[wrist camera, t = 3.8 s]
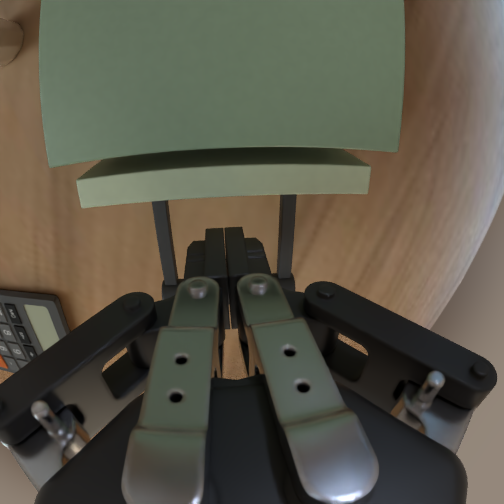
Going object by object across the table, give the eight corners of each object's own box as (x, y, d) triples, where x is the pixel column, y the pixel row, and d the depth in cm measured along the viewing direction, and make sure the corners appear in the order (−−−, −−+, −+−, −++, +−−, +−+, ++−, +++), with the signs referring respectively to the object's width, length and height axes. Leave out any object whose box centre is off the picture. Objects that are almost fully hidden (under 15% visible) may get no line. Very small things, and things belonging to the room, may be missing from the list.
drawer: (310, 246, 21) (345, 312, 15) (139, 255, 20) (115, 327, 14) (320, -42, 11) (369, -88, 5) (120, -38, 10) (79, -84, 4)
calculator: (-56, 288, 18) (53, 302, 20) (-51, 282, 19) (57, 295, 21) (-14, 366, 24) (88, 389, 26) (-11, 361, 25) (90, 382, 27)
